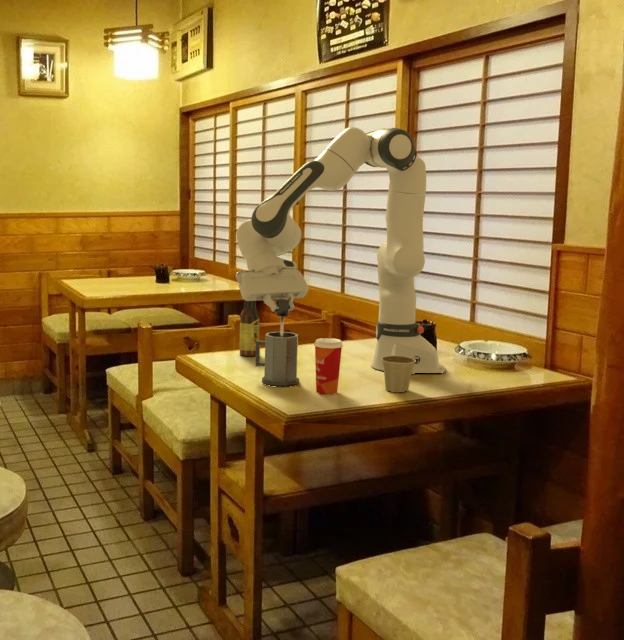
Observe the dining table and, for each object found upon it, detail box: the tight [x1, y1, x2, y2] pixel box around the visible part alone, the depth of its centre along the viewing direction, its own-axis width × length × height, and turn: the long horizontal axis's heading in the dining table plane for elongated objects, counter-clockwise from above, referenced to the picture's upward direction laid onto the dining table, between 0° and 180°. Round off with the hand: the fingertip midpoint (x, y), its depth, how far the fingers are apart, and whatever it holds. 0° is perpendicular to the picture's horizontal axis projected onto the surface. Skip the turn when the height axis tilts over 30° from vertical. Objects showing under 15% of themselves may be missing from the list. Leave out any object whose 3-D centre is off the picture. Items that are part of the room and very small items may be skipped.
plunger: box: [275, 299, 290, 337], centre depth 216 cm, size 6×6×18 cm
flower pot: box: [381, 356, 416, 393], centre depth 214 cm, size 9×9×9 cm
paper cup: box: [313, 337, 344, 395], centre depth 209 cm, size 8×8×14 cm
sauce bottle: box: [238, 299, 260, 357], centre depth 252 cm, size 7×6×20 cm
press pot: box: [255, 331, 300, 388], centre depth 217 cm, size 12×10×14 cm
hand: (283, 309), depth 215 cm, fingers closed on plunger, 4 cm apart
